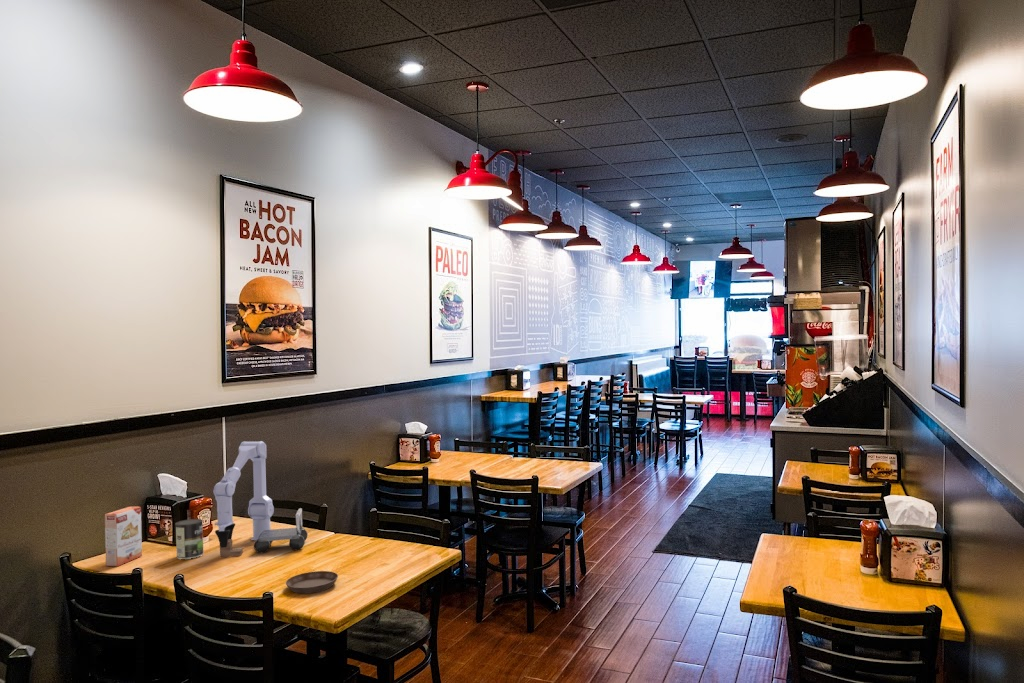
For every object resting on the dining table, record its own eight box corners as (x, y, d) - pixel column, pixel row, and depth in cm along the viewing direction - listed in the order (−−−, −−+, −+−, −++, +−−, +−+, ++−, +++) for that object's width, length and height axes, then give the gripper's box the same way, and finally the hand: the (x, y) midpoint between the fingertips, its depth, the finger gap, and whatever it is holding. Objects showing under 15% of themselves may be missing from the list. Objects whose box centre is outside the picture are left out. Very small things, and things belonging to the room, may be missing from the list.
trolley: (259, 545, 306) (258, 511, 306) (307, 541, 310) (306, 507, 310) (254, 553, 294) (252, 518, 294) (304, 549, 297) (303, 514, 297)
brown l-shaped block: (222, 554, 294) (222, 539, 294) (242, 552, 296) (242, 538, 296) (220, 557, 290) (219, 542, 290) (240, 555, 291) (240, 541, 291)
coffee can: (208, 551, 299) (206, 518, 299) (196, 559, 289) (195, 524, 289) (183, 552, 299) (182, 519, 299) (171, 560, 289) (170, 525, 289)
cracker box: (118, 567, 282) (116, 514, 282) (105, 566, 283) (103, 513, 283) (143, 556, 296) (141, 505, 296) (130, 556, 297) (128, 505, 297)
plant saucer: (275, 590, 248) (274, 582, 248) (315, 576, 262) (314, 567, 262) (309, 599, 238) (309, 590, 238) (348, 583, 253) (348, 575, 253)
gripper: (218, 508, 299) (219, 540, 299) (210, 516, 285) (211, 550, 285) (236, 507, 300) (237, 539, 300) (228, 514, 286) (230, 548, 286)
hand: (225, 544), depth 293 cm, fingers open, 7 cm apart
